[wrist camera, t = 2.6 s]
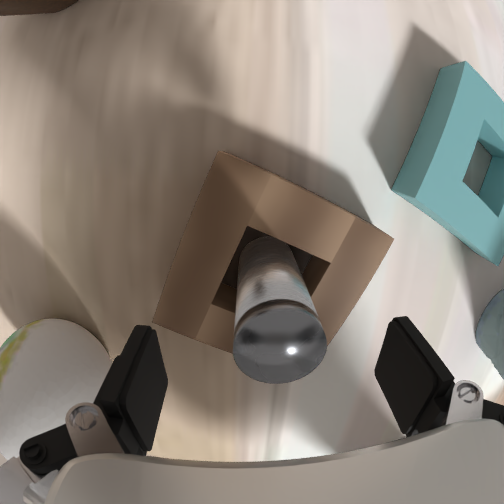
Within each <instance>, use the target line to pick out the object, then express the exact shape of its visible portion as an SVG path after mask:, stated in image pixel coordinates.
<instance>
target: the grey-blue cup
mask: <svg viewBox="0 0 504 504" xmlns="http://www.w3.org/2000/svg"><path fill="white" fill-rule="evenodd" d="M475 336H476V342H477V344H478V346H479V347H480V348H481V350H482V351H483V352H484V354H485V355H486V356H487V357H488V358H490V359H491V361H492V363H493V364H494V367H495V368H496V369H497V370H498V372H499V374H500V375H501V377H502V378H503V379H504V289H503V290H501V291H500V292H499V293H498V294H497V295H496V296H495V297H494V298H493V299H492V300H491V301H490V303H489V304H488V306H487V307H486V309H485V310H484V312H483V314H482V316H481V318H480V320H479V323H478V326H477V330H476V335H475Z"/></svg>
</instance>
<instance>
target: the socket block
mask: <svg viewBox="0 0 504 504" xmlns="http://www.w3.org/2000/svg"><path fill="white" fill-rule="evenodd" d="M477 140H478V141H479V142H480V143H481V144H482V145H483V146H484V148H485V149H486V150H487V151H488V152H489V153H490V154H491V155H492V159H491V162H490V165H489V168H488V171H487V174H486V177H485V179H484V182H483V185H482V187H481V190H480V192H479V195H478V196H477V195H476V194H475V193H474V192H473V191H472V190H471V189H470V188H469V187H468V186H467V185H466V184H465V183H464V182H463V178H464V176H465V173H466V171H467V168H468V165H469V163H470V160H471V157H472V154H473V152H474V149H475V146H476V143H477ZM391 190H392V191H393V192H395V193H396V194H398V195H399V196H401V197H402V198H404V199H405V200H407V201H408V202H410V203H411V204H413V205H414V206H415V207H417V208H418V209H420V210H421V211H422V212H424V213H425V214H427V215H428V216H429V217H431V218H432V219H433V220H435V221H436V222H437V223H439V224H440V225H441V226H443V227H444V228H445V229H447V230H448V231H449V232H451V233H452V234H453V235H454V236H456V237H457V238H458V239H459V240H461V241H462V242H463V243H464V244H466V245H467V246H468V247H469V248H470V249H472V250H473V251H474V252H475V253H477V254H478V255H480V256H482V257H483V258H485V259H487V260H488V261H490V262H492V263H493V264H495V265H496V266H499V264H500V262H501V260H502V258H503V256H504V102H503V101H502V100H501V98H500V97H499V96H498V95H497V94H496V92H495V91H494V90H493V89H492V88H491V87H490V86H489V84H488V83H487V82H486V81H485V80H484V79H483V78H482V77H481V76H480V75H479V74H478V73H477V72H476V71H475V70H474V69H473V68H472V66H471V65H469V64H468V63H467V62H466V61H464V62H460V63H457V64H453V65H450V66H447V67H443V68H440V72H439V75H438V78H437V80H436V83H435V86H434V89H433V92H432V95H431V97H430V100H429V103H428V105H427V108H426V111H425V113H424V116H423V118H422V121H421V123H420V126H419V128H418V131H417V133H416V136H415V138H414V140H413V143H412V145H411V148H410V150H409V152H408V154H407V157H406V159H405V161H404V163H403V166H402V168H401V170H400V172H399V174H398V176H397V179H396V181H395V183H394V185H393V187H392V189H391Z"/></svg>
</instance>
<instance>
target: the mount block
mask: <svg viewBox="0 0 504 504" xmlns="http://www.w3.org/2000/svg"><path fill="white" fill-rule="evenodd" d="M247 226H250V227H252V228H254V229H256V230H259V231H261V232H263V233H265V234H268V235H270V236H272V237H275V238H277V239H279V240H281V241H283V242H286V243H288V244H290V245H292V246H295V247H297V248H299V249H301V250H303V251H306V252H308V253H310V254H312V257H311V259H310V261H309V263H308V265H307V266H306V268H305V270H304V272H303V274H302V277H303V280H304V282H305V285H306V287H307V290H308V292H309V295H310V297H311V300H312V302H313V305H314V307H315V310H316V312H317V315H318V317H319V320H320V322H321V325H322V327H323V330H324V332H325V335H326V339H327V346H328V344H329V343H330V342H331V340H332V339H333V337H334V336H335V334H336V333H337V332H338V330H339V329H340V327H341V326H342V324H343V323H344V321H345V320H346V318H347V317H348V315H349V314H350V312H351V311H352V309H353V308H354V306H355V305H356V303H357V301H358V300H359V298H360V297H361V295H362V294H363V292H364V290H365V289H366V287H367V285H368V284H369V282H370V281H371V279H372V277H373V276H374V274H375V272H376V270H377V269H378V267H379V265H380V264H381V262H382V260H383V258H384V257H385V255H386V253H387V251H388V249H389V248H390V246H391V244H392V242H393V240H394V238H392V237H391V236H389V235H388V234H386V233H385V232H383V231H382V230H380V229H379V228H377V227H376V226H374V225H372V224H371V223H369V222H367V221H365V220H364V219H362V218H360V217H358V216H356V215H354V214H353V213H351V212H349V211H347V210H345V209H343V208H342V207H340V206H338V205H336V204H334V203H332V202H330V201H328V200H326V199H324V198H323V197H321V196H319V195H317V194H315V193H313V192H311V191H309V190H307V189H305V188H303V187H301V186H299V185H297V184H295V183H293V182H290V181H288V180H286V179H284V178H282V177H280V176H278V175H276V174H274V173H272V172H269V171H267V170H265V169H263V168H261V167H258V166H256V165H254V164H252V163H250V162H247V161H245V160H243V159H240V158H238V157H236V156H234V155H231V154H229V153H227V152H224V151H218V152H217V155H216V157H215V159H214V161H213V164H212V166H211V168H210V170H209V173H208V175H207V177H206V180H205V182H204V184H203V187H202V189H201V191H200V194H199V196H198V199H197V201H196V204H195V206H194V208H193V211H192V213H191V216H190V218H189V221H188V223H187V226H186V228H185V231H184V234H183V236H182V239H181V241H180V244H179V247H178V249H177V252H176V255H175V257H174V260H173V263H172V266H171V268H170V271H169V274H168V277H167V280H166V282H165V285H164V288H163V291H162V294H161V297H160V300H159V303H158V306H157V309H156V312H155V315H154V318H153V321H152V322H153V323H155V324H158V325H160V326H162V327H165V328H167V329H170V330H172V331H174V332H177V333H179V334H182V335H184V336H187V337H189V338H192V339H195V340H197V341H200V342H202V343H205V344H208V345H210V346H213V347H216V348H219V349H221V350H224V351H227V352H230V353H233V339H234V325H235V311H236V297H237V289H236V288H233V287H231V286H228V285H226V284H223V283H221V281H222V279H223V277H224V275H225V273H226V270H227V268H228V266H229V264H230V262H231V260H232V257H233V255H234V253H235V251H236V249H237V247H238V244H239V242H240V240H241V238H242V236H243V234H244V232H245V229H246V227H247Z"/></svg>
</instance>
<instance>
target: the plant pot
mask: <svg viewBox="0 0 504 504" xmlns="http://www.w3.org/2000/svg"><path fill="white" fill-rule="evenodd" d="M76 1H78V0H0V16H6V15H25V14H43V13H54V12H58V11H61V10H63V9H65V8H67V7H69V6H71V5H72V4H74V3H75V2H76Z"/></svg>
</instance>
